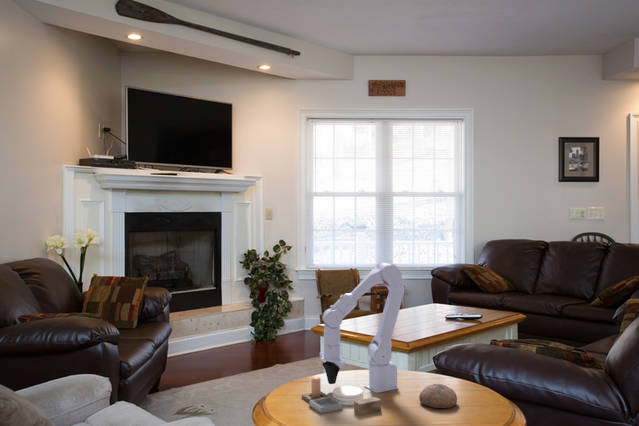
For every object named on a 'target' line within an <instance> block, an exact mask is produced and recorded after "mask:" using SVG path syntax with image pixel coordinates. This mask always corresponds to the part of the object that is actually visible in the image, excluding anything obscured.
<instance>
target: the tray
mask: <svg viewBox="0 0 639 426" xmlns="http://www.w3.org/2000/svg"><path fill="white" fill-rule="evenodd" d="M309 407H310V408H311V409H313V410H314V411H315V412H317V413H319V414H320V415H322V414H323V415H324V414H328V413H333V412H338V411H343V405H342V403H340V402H339V401H337V400H335V399H334V398H333V396H329V397H325V398H319V399H314V400H310V403H309Z"/></svg>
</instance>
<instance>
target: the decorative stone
mask: <svg viewBox="0 0 639 426" xmlns="http://www.w3.org/2000/svg"><path fill="white" fill-rule="evenodd" d="M418 397H419V399H418V400H419V402H420V403H421V404H423V405H424V406H427V407H430V408H442V409H446V408H451V407H454V406H455V405H456V404H457V401H458V395H457V393H456V392H455V390H453V389H452V388H451V387H449V386H447V385H445V384H443V383H433V384H430V385H428V386H426V387H425V388H423V389H422V390H421V392H420V393H419V396H418Z"/></svg>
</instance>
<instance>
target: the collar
mask: <svg viewBox="0 0 639 426" xmlns="http://www.w3.org/2000/svg"><path fill="white" fill-rule="evenodd" d="M325 397H330V396H329V395H327V394H326V393H324V392H323V391H321V397H320V398H325ZM301 399H302V400H305V402H307V403H308V404H310V400H314V399H313V398H311V392H308V393H304V394H303V393H302V394H301ZM315 399H319V398H315Z"/></svg>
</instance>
